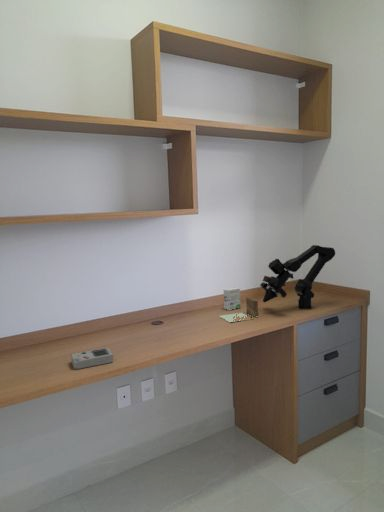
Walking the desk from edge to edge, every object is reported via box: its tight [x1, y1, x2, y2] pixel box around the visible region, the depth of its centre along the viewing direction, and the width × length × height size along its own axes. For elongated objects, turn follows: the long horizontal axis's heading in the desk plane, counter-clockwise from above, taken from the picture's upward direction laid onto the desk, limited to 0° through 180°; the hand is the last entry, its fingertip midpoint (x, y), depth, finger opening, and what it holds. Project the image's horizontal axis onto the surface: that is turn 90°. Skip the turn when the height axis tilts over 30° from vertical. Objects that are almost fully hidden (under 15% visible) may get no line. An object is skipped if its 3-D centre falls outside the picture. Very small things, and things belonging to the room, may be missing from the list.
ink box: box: [223, 287, 241, 311], centre depth 220 cm, size 8×5×12 cm, turn 121°
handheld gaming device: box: [70, 347, 114, 370], centre depth 149 cm, size 9×15×4 cm, turn 114°
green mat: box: [218, 312, 247, 323], centre depth 201 cm, size 14×14×1 cm
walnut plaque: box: [245, 297, 259, 318], centre depth 204 cm, size 2×8×9 cm, turn 20°
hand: (263, 301), depth 206 cm, fingers closed
